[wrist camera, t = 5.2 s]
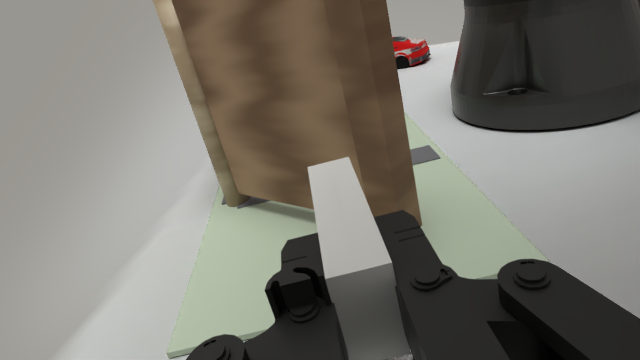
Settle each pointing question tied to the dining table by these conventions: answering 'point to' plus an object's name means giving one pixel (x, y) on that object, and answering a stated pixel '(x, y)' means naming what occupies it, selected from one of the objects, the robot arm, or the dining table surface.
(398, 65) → the race car
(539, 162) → the dining table surface
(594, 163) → the dining table surface
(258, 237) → the card
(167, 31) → the birch fence section
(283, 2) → the walnut panel
